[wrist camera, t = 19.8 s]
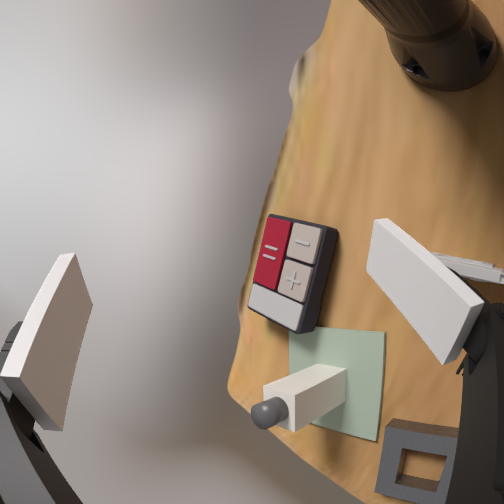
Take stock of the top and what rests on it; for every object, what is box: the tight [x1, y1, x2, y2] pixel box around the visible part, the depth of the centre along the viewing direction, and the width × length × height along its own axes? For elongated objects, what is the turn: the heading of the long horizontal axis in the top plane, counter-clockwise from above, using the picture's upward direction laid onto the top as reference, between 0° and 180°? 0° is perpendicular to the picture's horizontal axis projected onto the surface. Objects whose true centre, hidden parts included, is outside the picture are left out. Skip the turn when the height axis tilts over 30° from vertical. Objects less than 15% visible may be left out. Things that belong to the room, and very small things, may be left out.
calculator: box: [248, 214, 338, 334], centre depth 46 cm, size 11×4×15 cm
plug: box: [251, 364, 347, 432], centre depth 37 cm, size 5×5×14 cm
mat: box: [289, 326, 386, 441], centre depth 42 cm, size 16×16×1 cm
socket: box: [374, 418, 459, 504], centre depth 29 cm, size 12×12×2 cm
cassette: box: [430, 252, 504, 284], centre depth 27 cm, size 12×2×8 cm, turn 81°
